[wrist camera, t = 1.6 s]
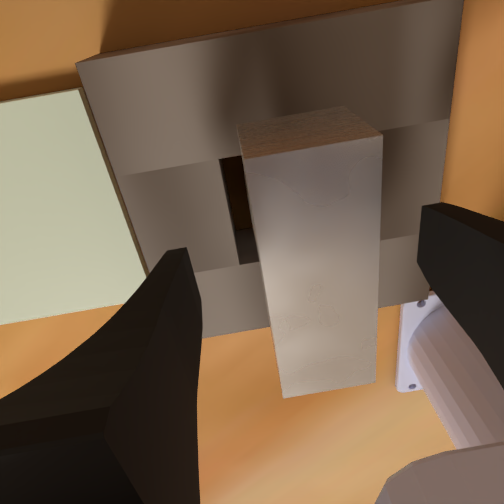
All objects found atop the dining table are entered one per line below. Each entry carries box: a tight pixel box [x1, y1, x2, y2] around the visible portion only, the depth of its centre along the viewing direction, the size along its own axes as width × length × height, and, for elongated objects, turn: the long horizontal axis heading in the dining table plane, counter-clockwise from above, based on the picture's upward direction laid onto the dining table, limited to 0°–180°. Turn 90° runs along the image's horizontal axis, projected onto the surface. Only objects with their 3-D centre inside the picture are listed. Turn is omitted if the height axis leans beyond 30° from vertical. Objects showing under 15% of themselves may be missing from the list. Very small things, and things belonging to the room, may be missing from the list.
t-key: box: [236, 106, 383, 398], centre depth 14 cm, size 3×8×8 cm, turn 8°
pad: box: [0, 87, 149, 325], centre depth 17 cm, size 10×10×1 cm
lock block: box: [75, 0, 464, 338], centre depth 16 cm, size 12×12×3 cm
